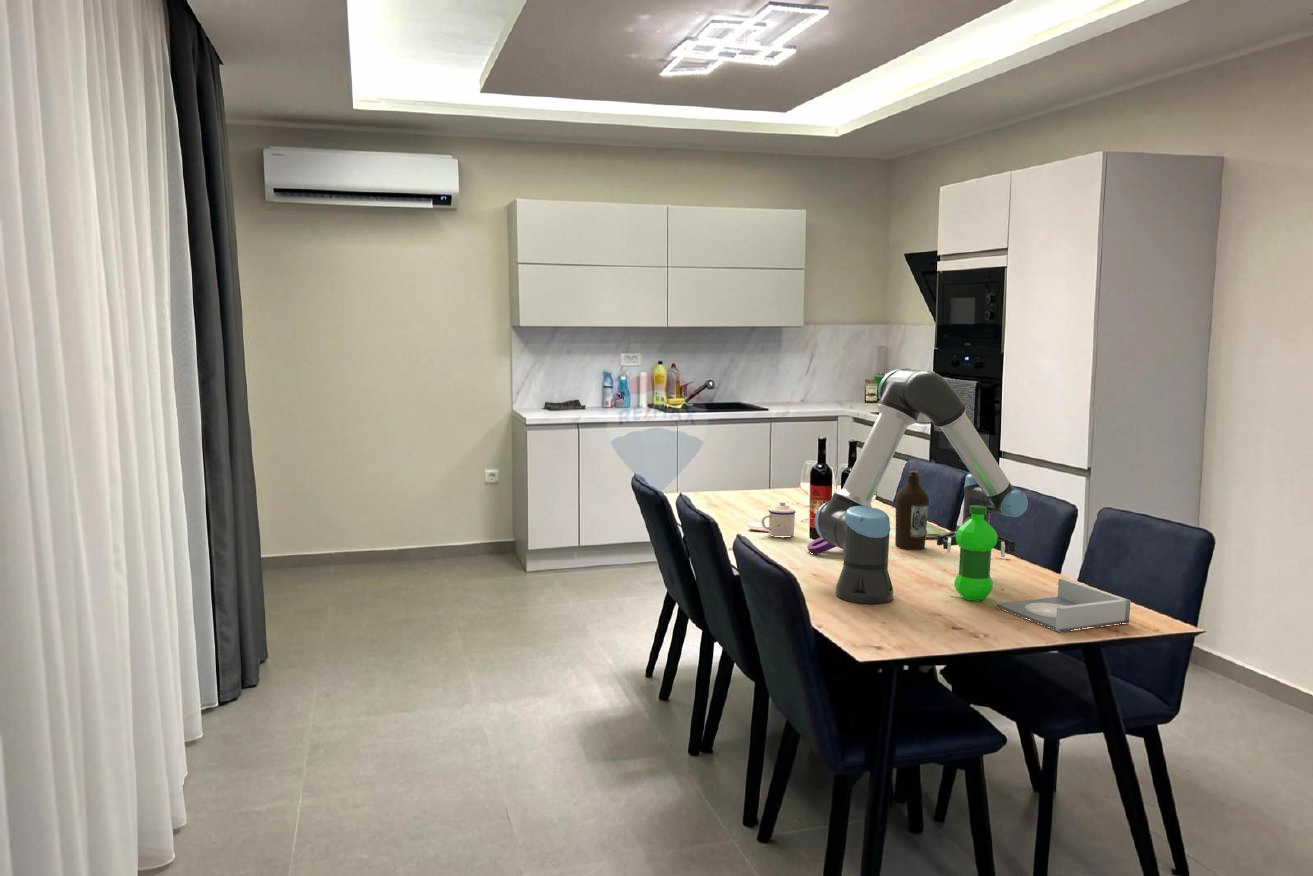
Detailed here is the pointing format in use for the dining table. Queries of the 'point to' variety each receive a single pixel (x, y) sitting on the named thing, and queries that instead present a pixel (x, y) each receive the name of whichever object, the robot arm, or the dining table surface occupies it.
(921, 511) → the olive oil
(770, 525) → the teacup with lid
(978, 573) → the plastic bottle
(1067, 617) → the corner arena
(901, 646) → the dining table surface
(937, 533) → the washcloth
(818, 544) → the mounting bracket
